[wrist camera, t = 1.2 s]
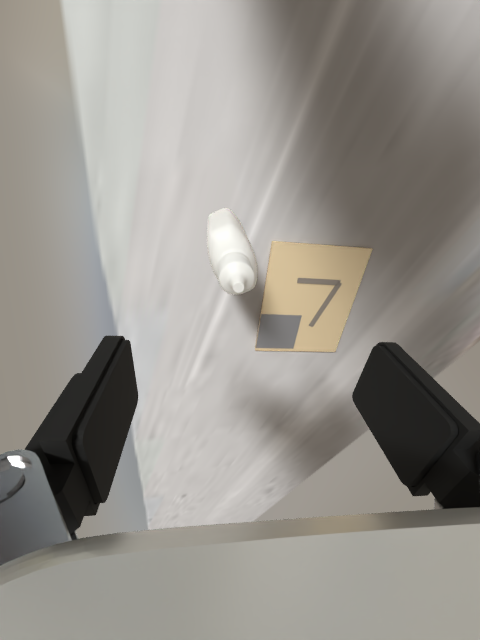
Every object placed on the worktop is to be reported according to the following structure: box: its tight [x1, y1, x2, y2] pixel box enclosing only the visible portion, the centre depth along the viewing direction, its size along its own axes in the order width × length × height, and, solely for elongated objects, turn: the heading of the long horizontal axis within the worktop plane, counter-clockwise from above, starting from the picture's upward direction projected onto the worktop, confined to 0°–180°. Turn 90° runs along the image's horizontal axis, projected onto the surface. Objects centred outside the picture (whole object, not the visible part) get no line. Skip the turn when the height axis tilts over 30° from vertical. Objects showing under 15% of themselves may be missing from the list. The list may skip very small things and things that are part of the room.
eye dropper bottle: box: [207, 208, 257, 295], centre depth 21 cm, size 4×6×12 cm
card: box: [255, 241, 372, 352], centre depth 31 cm, size 14×11×1 cm
